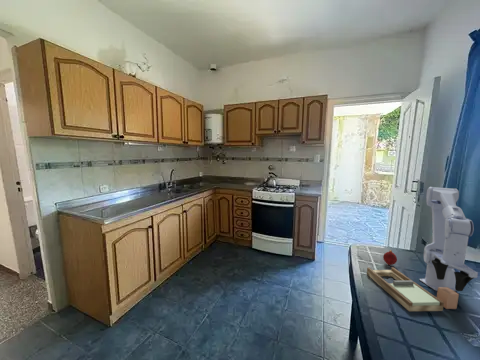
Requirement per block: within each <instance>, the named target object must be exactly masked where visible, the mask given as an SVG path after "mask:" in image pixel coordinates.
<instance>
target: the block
mask: <svg viewBox="0 0 480 360" xmlns="http://www.w3.org/2000/svg"><path fill="white" fill-rule="evenodd" d="M459 296H460V293H458V292H456V291H453V290H452V289H450V288H448V287H438V291H436V297H437V298H438V299H439V300H441V301H442V302H444V306H443V309H444V308H445V309H446V310H456V309H457V307H458V301H459Z"/></svg>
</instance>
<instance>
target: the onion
mask: <svg viewBox="0 0 480 360" xmlns="http://www.w3.org/2000/svg"><path fill="white" fill-rule="evenodd" d="M382 257H383V262H385V264H386V265H388V266H392V265H395V264H396V263H397V262H398V258H397V255H396V254H395V253H394V252H393V250H391V249H389V251H387V252H385V253H384V254H383V256H382Z"/></svg>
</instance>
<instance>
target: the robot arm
mask: <svg viewBox="0 0 480 360" xmlns="http://www.w3.org/2000/svg"><path fill="white" fill-rule="evenodd" d="M459 198H460V191H459V190H458V189H457V188H448V187H438V186H437V187H435V186H429V187H428V188H427V190H426V206H428V207H429V208H431V215H432V216H431V220H432V223H431V227H432V231H431V232H432V234H431V236H432V242H431V243H428V244H426V245H425V247H424V250H423V261H424V263H425V264H426V271H425V277H424V278H419V281H420V282H422V283H424V284H425V285H426V286H428V287H430V288H431V289H432V290H434V291H436V292H437V291H438V287H448V288H450V289H452V290H453V291H455V292H456V291H457V292H463V291H464V289H465V287H466V286H467V284H468V283H470V282H471V281H472V280H473V279H476V278H478V274H479V272H478V271H475V269H472V268H471V267H469V266H468V265H467V264H465V260H466V256H467V255H466V254H467V249H468V243H469V238H470V237H472V236H473V234H474V231H475V229H474V222H473V220H471V219H470V218H467V217H466V216H465V213H464V212H463V209H462V208H461V207H460V206H457V202H458V200H459ZM455 269H456V270H458V271H456V270H455Z"/></svg>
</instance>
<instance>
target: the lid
mask: <svg viewBox="0 0 480 360" xmlns="http://www.w3.org/2000/svg"><path fill="white" fill-rule="evenodd" d="M414 282H415V281H414ZM414 282H413V279H411V280H396V279H395V280H392V283H389V284H390V285H391V286H393V287H394V288H395V289H396V290H397V291H399V292H400V293H401V294H402V295H403V296H405V297H406V298H407V299H408V300H410V301H411V302H412V303H413V304H412V306H424V305H440V302H439V301H437V300H436V299H435V298H433V297H432V296H430V295H429V294H427V293H426V292H425V291H423V290H422V289H420V288H419V287H418V286H416V285H415V284H414Z"/></svg>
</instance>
